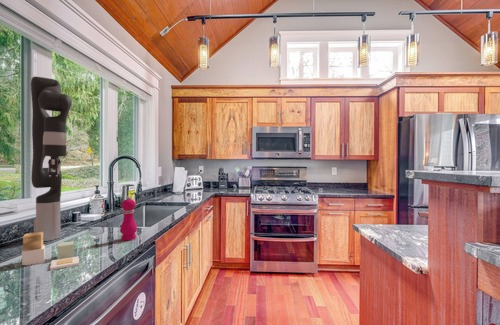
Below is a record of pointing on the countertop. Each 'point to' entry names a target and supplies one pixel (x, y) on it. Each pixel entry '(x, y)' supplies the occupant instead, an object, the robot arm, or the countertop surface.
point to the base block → (33, 256)
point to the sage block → (65, 250)
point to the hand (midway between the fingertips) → (54, 185)
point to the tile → (64, 263)
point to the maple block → (32, 241)
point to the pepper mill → (128, 220)
